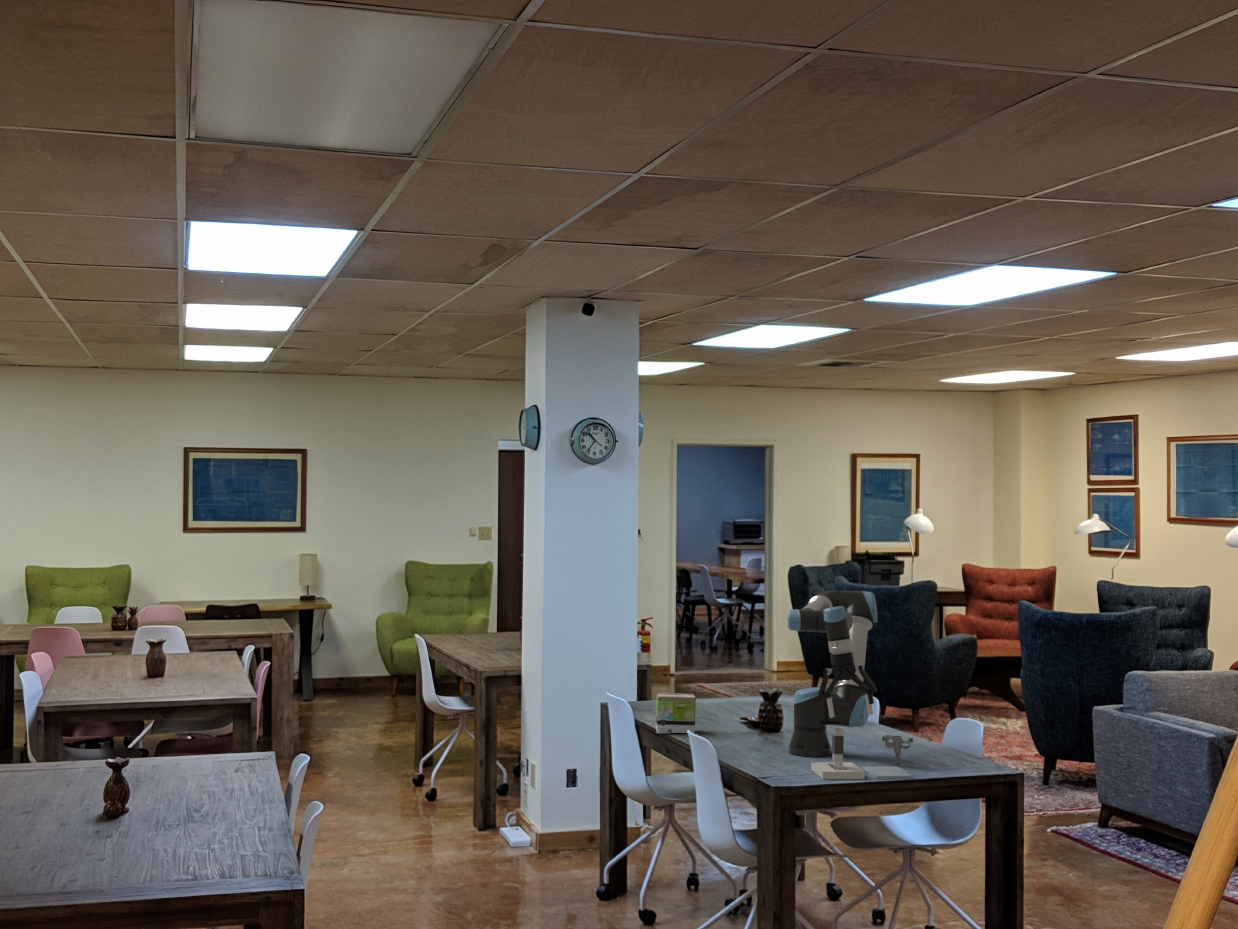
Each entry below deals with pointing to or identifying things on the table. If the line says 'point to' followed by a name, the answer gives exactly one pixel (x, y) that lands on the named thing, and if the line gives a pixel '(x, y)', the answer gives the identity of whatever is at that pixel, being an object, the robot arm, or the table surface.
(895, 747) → the mechanical component
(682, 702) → the tea box
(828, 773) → the block
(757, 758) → the table surface
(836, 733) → the t key
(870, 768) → the pad
